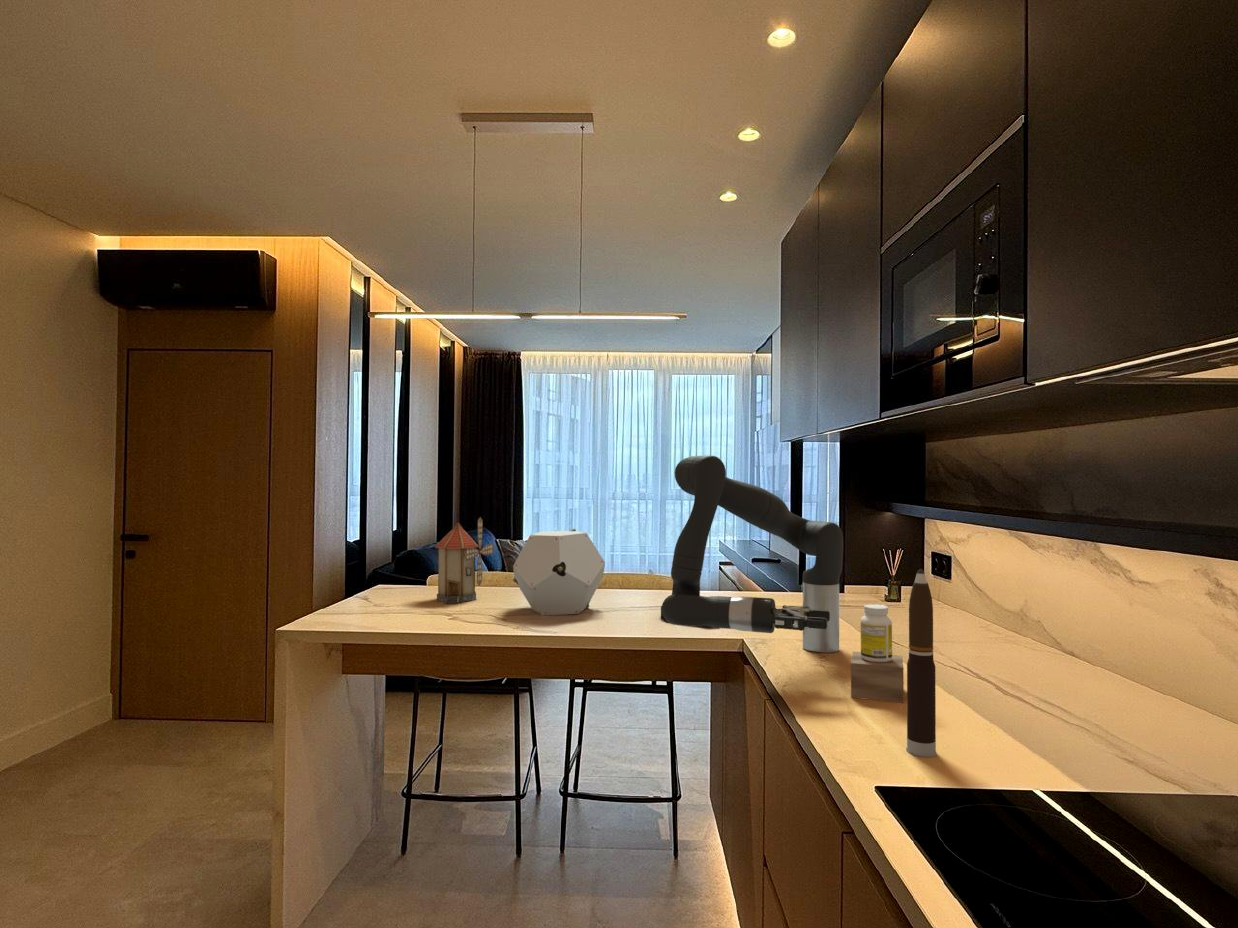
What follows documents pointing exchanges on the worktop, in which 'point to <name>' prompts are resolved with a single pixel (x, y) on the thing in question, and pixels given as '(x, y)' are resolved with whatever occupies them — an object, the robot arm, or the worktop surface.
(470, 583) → the miniature windmill
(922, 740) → the ammunition
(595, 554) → the geometric sculpture
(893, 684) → the walnut block
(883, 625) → the pill bottle
